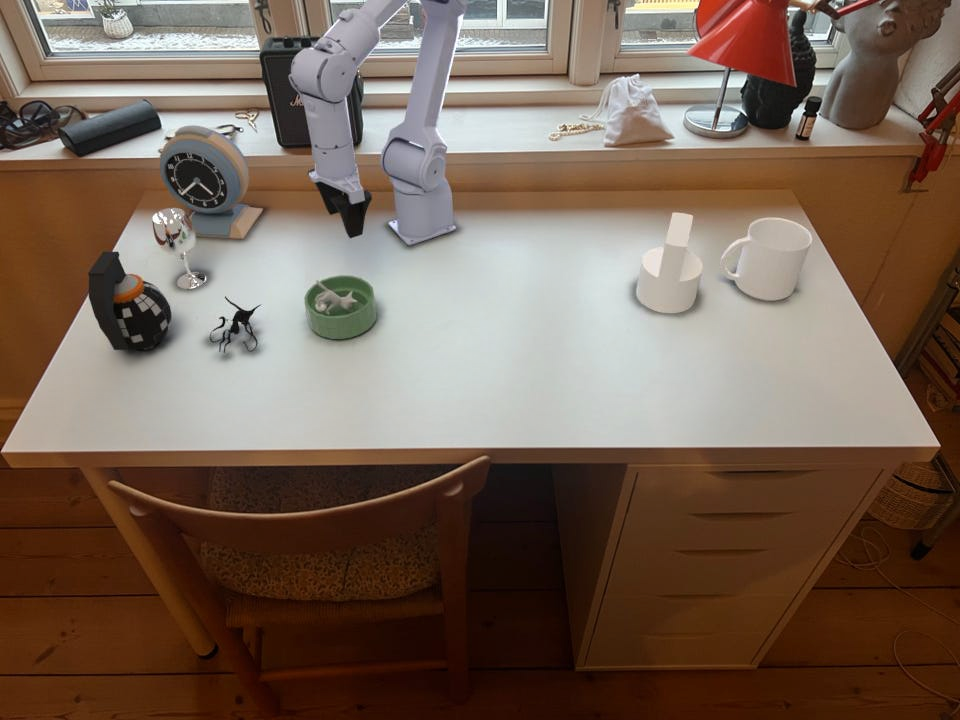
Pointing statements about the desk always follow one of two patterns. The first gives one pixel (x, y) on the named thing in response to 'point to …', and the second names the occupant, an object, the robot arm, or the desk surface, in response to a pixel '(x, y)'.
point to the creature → (238, 317)
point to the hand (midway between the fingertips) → (345, 223)
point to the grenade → (127, 306)
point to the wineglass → (177, 241)
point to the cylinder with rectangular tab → (670, 271)
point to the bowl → (340, 320)
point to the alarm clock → (209, 181)
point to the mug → (769, 258)
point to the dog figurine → (333, 300)
